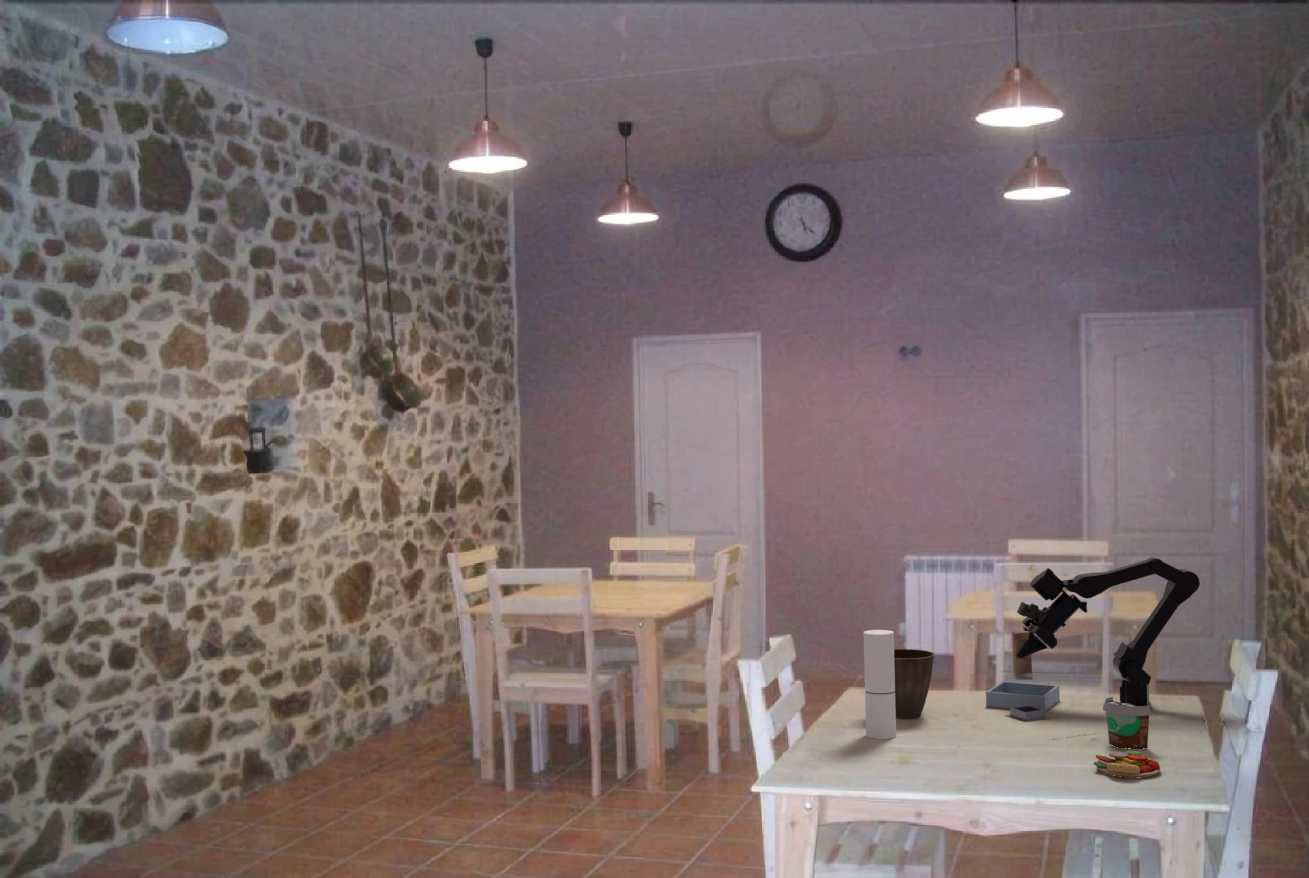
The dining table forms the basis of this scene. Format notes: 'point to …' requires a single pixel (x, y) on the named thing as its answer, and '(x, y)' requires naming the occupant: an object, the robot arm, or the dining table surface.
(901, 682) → the plant pot
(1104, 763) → the toy food set
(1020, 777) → the dining table surface
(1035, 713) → the socket block
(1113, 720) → the food container
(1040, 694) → the bin
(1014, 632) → the strut
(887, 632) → the cylindrical container
